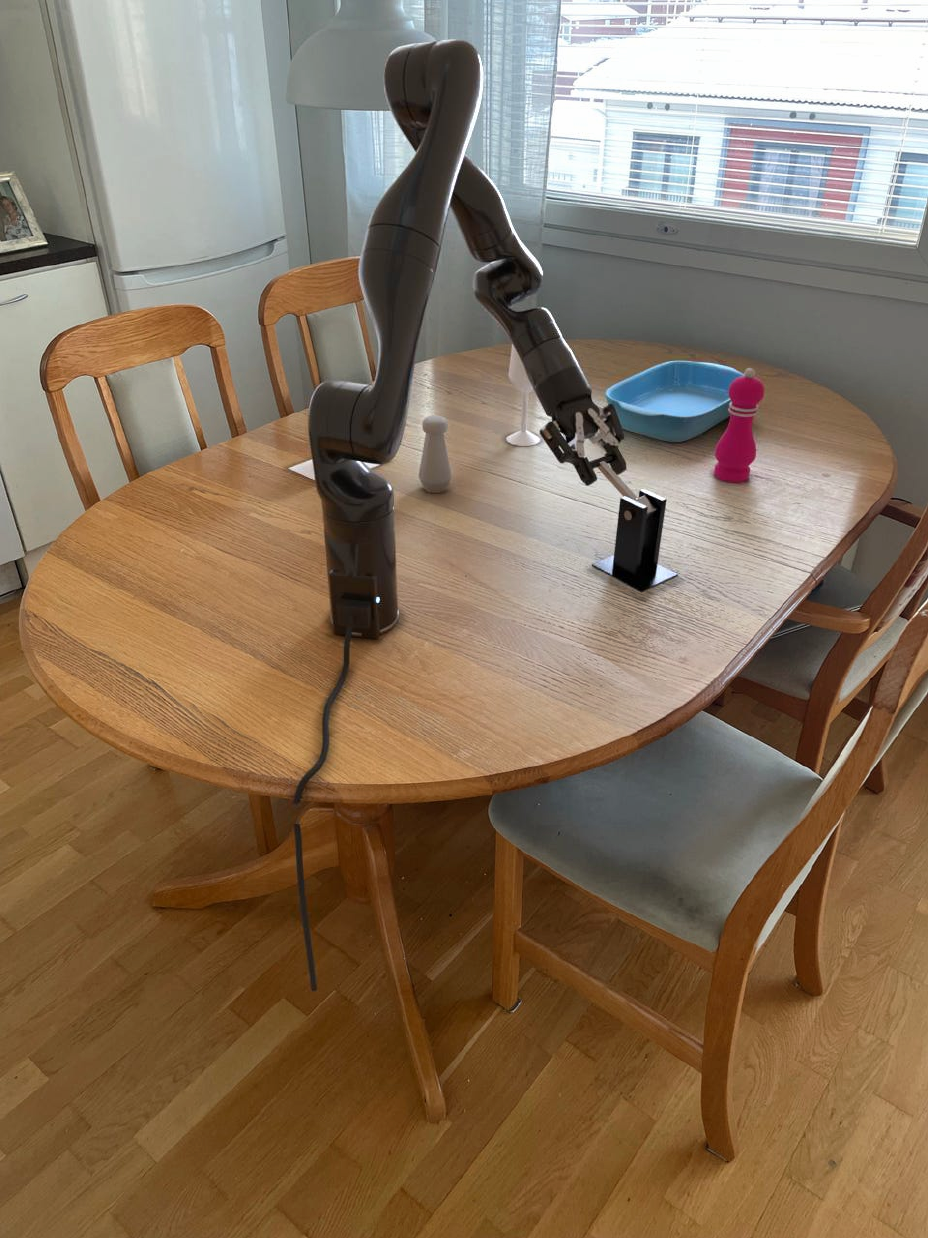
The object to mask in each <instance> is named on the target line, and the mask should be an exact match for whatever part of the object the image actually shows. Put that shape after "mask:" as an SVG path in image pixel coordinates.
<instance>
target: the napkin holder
mask: <svg viewBox="0 0 928 1238" xmlns="http://www.w3.org/2000/svg"><path fill="white" fill-rule="evenodd" d="M363 463H364V464H365V465H367V466H368V467H369V468H370V469H373V468H376V467H378V466H379V465H378V464H371V463H365V462H363ZM287 469H288V470H290V471H293V472H294V473H297V474H299V475H302V476H304V477H306V478H308V479H311V480H313V481H315V476H314V469H313V461H312V459H309V460H306V461H304V462H301V463H298V464H295V465H293V466H291V467H288V468H287Z"/></svg>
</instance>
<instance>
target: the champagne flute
mask: <svg viewBox="0 0 928 1238" xmlns="http://www.w3.org/2000/svg"><path fill="white" fill-rule="evenodd" d="M509 360H510V361H509V367H508V378H509V381H510V382H511V384H512V385H513V386H514V387H515V388H516V389H517V391H519V392H521V412H520V430H518V431H515V432H514V433H512V434H510V435H508V436H507V437H506V442H507V443H509V444H511V445H514V446H518V447H530V446H534V445H537V444H538V443H540V441H541V439H540V437H539V436H537V435H535V434H534V433H532V432H531V431H529V430H527V429H528V428H527V427H528V406H529V404H528V403H529V393H530V392H533V391H534V389H533V387H532V385H531V383H530V381H529V379H528V377H527V374H526V372H525V369H524V366H523V364H522V361H521V359H520V357H519V355H518V354H517V352H516V350H515V348H514V346H513V344H512V343H511V351H510V358H509Z"/></svg>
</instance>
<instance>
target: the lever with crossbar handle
mask: <svg viewBox="0 0 928 1238" xmlns="http://www.w3.org/2000/svg"><path fill="white" fill-rule="evenodd" d="M614 461H615V457H614V455H613V454H610V455H607V456H605V455H604V456H601V457H599V458H594V459H592V460H589V462H590V464H591V466H592V468H593V470H594V469H598V470H599V472H601V474H603V476H604V477H605V478H606V479H607V480H608V482H609V483H611V485H612V486H613V487H614V488H615V489H616V490H617V492H618V493H619V494H620V495H621V496H622V497H624V496H626V497H628V498H630V499H632V500H634V501H636V502H639V503H641V504H643V505H645V506H647V507H648V509H647V517H646V521H648V520H650V519H651V517H652V516H653V514H654V513H655V511H656V508H655V507H654V505H653V504H652V503H651V502H650V501H649V500H648V499H647V498H646V497H645V496H642V497H640V498H639V496H637V494H635V493H634V492H633V490H632V489H631V488H630V487H629V486H628V485H627V484H626V482H625V481H623V480H622V478H621V477H620V476H619V475H617V474H616V473H615V472H614V471H613V470H612V468H611V466H610V464H609V463H611V462H614Z"/></svg>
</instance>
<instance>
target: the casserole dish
mask: <svg viewBox="0 0 928 1238" xmlns="http://www.w3.org/2000/svg"><path fill="white" fill-rule="evenodd" d="M742 376H745V375H744V372H743V373H742V372H741V371H739V370H736V369H735V368H733V367H730V366H726V365H724V364H723V365H722V364H718V363H712V362H704V361H703V362H702V361H701V362H699V361H690V360H672V361H666V362H663V363H660V364H656V365H654V366H652V367H650V368H647V369H646V370H644V371H641V372H639V373H637V374H635V375H632V376H630V377H627V378H626V379H624V380H621V381H619V382H617V383H616V384H614V385H613V384H612V386H610V387H609V388H607V389H606V390H605V393H604V395H605V398H606V403H607V405H608V404H613V405H614V407H615V410H616V412H617V415H618V418H619V421H620V424H621V427H622V429H623V430H625V431H628V432H631V433H634V434H637V435H641V436H645V437H648V438H651V439H654V440H655V439H656V440H658V441H663V442H668V443H681V442H686V441H689V440H692V439H693V438H695V437H698V436H700V435H702V434H703V433H705V432H707V431H708V430H710V429H712V428H713V427H715V426H717V425H718V424H720V423H722V422H723V421H724V420H726V419H728V418H730V412H729V411H728V409H729V407H730V406H729V403H730V402H732V401H731V399H730V398H729V395H728V391H729V387H730V385H731V383H732V382H733V381H734V380H735V379H736V378H738V377H742Z"/></svg>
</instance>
